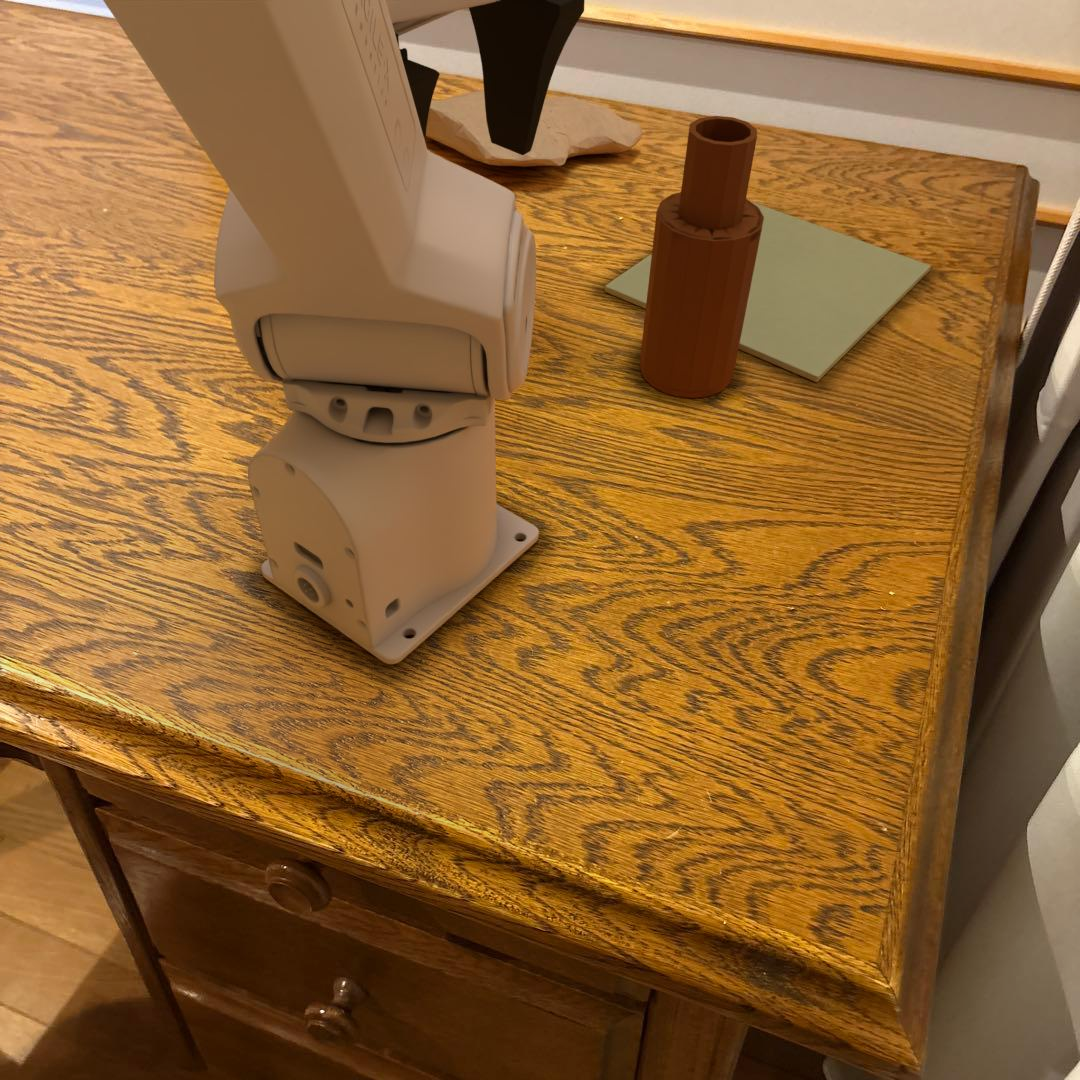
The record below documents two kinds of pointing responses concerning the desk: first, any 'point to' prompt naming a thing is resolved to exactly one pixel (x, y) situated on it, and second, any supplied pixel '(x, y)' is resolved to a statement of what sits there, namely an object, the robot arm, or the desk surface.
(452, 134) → the stone
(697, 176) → the bottle
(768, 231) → the mat
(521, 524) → the robot arm
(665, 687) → the desk surface
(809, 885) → the desk surface
